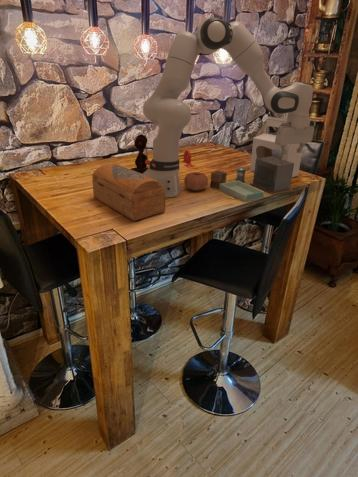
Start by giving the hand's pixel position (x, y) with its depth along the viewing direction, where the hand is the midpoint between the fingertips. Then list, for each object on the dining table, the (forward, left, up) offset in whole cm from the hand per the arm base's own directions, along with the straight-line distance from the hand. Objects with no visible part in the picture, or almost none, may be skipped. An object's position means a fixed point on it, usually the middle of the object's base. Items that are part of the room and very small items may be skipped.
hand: (291, 153), depth 161 cm
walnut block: (-30, +14, -16) cm, 37 cm away
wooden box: (-75, +12, -16) cm, 78 cm away
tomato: (-41, +16, -16) cm, 47 cm away
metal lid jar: (-16, +15, -16) cm, 27 cm away
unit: (-8, +2, -16) cm, 18 cm away
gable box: (+11, +20, -16) cm, 28 cm away
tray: (-26, +2, -16) cm, 30 cm away
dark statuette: (-55, +44, -16) cm, 72 cm away
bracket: (-24, +52, -16) cm, 59 cm away
